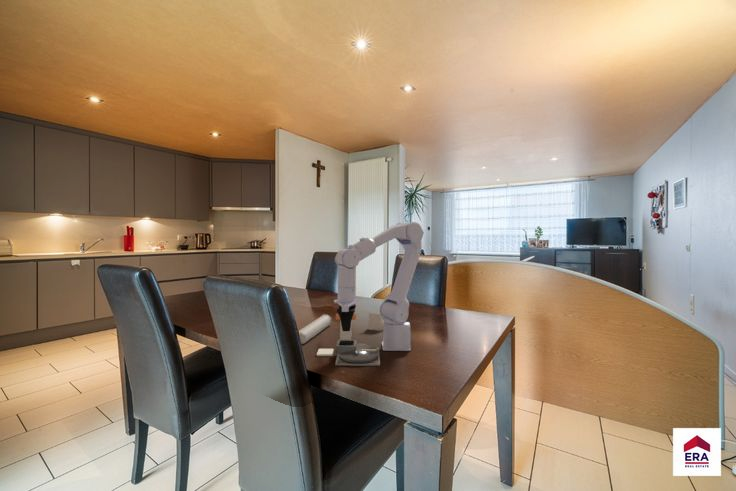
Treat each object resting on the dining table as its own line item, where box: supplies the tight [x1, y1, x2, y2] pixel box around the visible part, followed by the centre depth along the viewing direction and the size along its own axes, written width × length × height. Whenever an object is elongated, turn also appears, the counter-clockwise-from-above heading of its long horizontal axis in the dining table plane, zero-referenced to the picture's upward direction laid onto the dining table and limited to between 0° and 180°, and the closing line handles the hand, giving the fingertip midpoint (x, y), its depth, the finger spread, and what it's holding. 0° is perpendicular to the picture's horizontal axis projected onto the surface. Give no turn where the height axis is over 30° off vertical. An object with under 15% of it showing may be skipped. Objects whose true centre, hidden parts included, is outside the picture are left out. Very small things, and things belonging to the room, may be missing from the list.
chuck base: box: [335, 347, 381, 367], centre depth 101 cm, size 13×13×1 cm
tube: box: [298, 313, 332, 345], centre depth 124 cm, size 5×5×25 cm
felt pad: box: [316, 348, 335, 357], centre depth 104 cm, size 5×5×1 cm
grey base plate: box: [335, 339, 380, 363], centre depth 101 cm, size 13×13×4 cm
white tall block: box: [335, 313, 357, 340], centre depth 101 cm, size 6×3×8 cm, turn 90°
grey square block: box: [367, 312, 383, 332], centre depth 131 cm, size 3×7×7 cm, turn 77°
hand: (346, 329), depth 101 cm, fingers closed on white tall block, 3 cm apart
